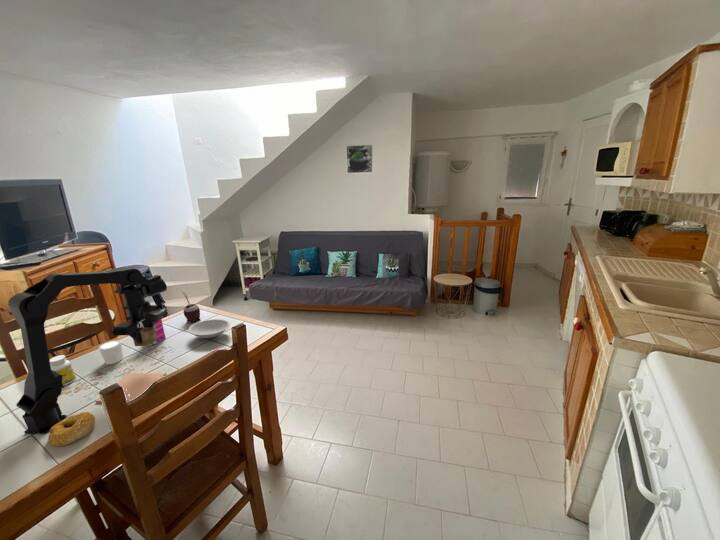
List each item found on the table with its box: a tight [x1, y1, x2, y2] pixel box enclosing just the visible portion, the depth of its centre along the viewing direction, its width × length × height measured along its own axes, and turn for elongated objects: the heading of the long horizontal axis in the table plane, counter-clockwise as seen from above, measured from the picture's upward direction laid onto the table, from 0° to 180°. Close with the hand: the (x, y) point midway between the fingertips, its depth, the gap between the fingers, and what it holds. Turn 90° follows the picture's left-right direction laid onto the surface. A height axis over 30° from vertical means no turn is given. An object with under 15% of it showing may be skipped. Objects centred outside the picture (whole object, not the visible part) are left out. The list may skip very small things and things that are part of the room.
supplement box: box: [139, 319, 166, 346], centre depth 130 cm, size 6×6×12 cm
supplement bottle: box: [49, 354, 76, 386], centre depth 105 cm, size 5×5×10 cm
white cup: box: [98, 339, 124, 365], centre depth 118 cm, size 7×7×7 cm
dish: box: [187, 318, 231, 339], centre depth 134 cm, size 18×14×5 cm
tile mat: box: [95, 372, 167, 404], centre depth 103 cm, size 14×14×1 cm
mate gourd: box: [181, 290, 201, 325], centre depth 147 cm, size 8×8×15 cm
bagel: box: [47, 411, 96, 447], centre depth 85 cm, size 10×11×5 cm
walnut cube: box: [132, 327, 157, 347], centre depth 111 cm, size 5×5×5 cm
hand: (145, 339), depth 111 cm, fingers closed on walnut cube, 5 cm apart
